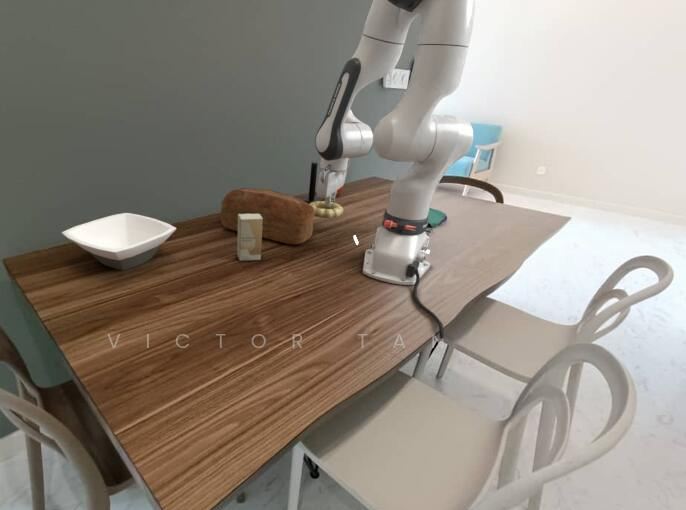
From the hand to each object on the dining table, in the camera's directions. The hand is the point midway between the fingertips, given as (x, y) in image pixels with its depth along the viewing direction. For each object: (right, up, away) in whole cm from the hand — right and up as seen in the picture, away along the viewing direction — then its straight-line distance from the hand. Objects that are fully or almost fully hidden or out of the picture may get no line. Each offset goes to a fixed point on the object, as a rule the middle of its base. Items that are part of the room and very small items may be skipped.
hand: (329, 204), depth 135 cm
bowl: (-58, -22, -29) cm, 68 cm away
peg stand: (-5, +7, +26) cm, 27 cm away
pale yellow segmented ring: (-2, -2, -4) cm, 5 cm away
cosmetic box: (-25, -21, -23) cm, 40 cm away
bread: (-21, -11, -7) cm, 25 cm away
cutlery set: (+33, -4, +12) cm, 35 cm away
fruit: (+5, +12, +35) cm, 38 cm away
